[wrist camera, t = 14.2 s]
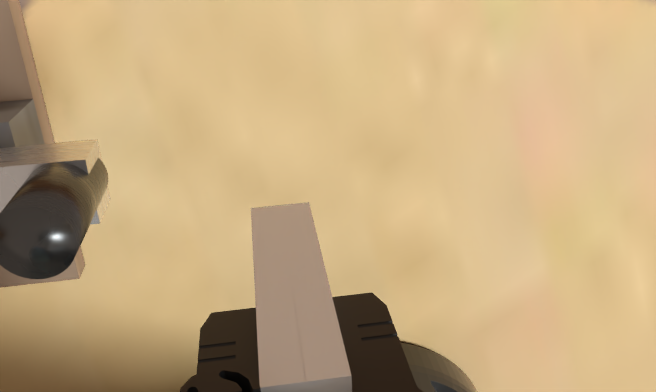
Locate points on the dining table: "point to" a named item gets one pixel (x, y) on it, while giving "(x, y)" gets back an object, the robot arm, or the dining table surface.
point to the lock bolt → (49, 204)
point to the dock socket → (23, 112)
